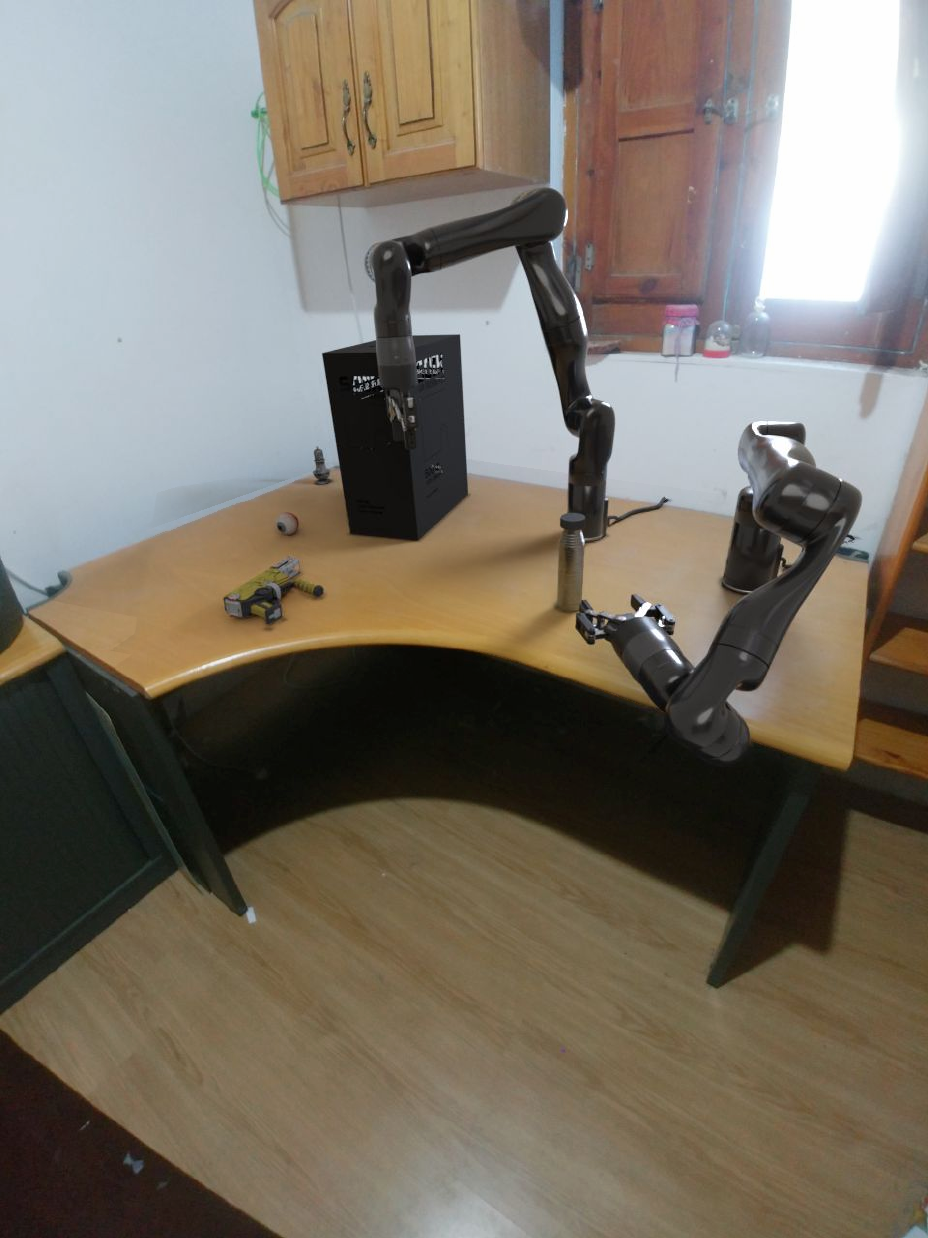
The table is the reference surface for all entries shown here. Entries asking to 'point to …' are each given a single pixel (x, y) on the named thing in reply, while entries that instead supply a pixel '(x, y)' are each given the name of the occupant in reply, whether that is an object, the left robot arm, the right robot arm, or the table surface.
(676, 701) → the right robot arm
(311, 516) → the table surface
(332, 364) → the cardboard box
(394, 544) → the table surface
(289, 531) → the eyeball
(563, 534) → the bottle
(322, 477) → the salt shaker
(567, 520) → the cap
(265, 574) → the toy gun
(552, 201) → the left robot arm
